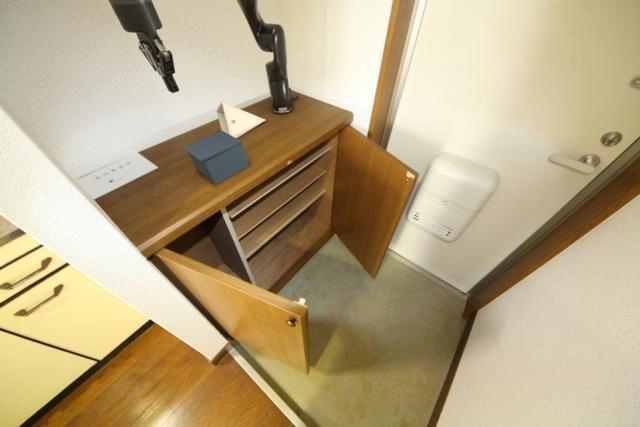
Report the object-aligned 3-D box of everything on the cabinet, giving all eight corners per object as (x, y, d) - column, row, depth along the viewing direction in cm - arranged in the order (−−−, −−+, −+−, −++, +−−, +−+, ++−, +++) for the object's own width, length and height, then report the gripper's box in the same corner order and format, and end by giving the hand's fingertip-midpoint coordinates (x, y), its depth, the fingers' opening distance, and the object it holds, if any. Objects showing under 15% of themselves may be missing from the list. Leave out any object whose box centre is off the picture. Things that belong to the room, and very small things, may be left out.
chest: (215, 184, 74) (204, 162, 67) (197, 170, 79) (186, 149, 73) (249, 165, 81) (242, 143, 74) (230, 153, 86) (222, 132, 79)
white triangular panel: (255, 103, 103) (214, 103, 90) (263, 102, 99) (221, 101, 86) (262, 137, 109) (224, 142, 95) (269, 136, 105) (231, 141, 91)
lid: (201, 162, 67) (200, 160, 66) (183, 149, 72) (182, 146, 71) (242, 143, 74) (241, 141, 73) (222, 132, 79) (221, 130, 79)
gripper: (163, -1, 44) (200, 93, 57) (137, -4, 50) (176, 82, 63) (121, 3, 40) (171, 102, 53) (99, 0, 46) (149, 90, 59)
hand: (174, 91), depth 58 cm, fingers closed
